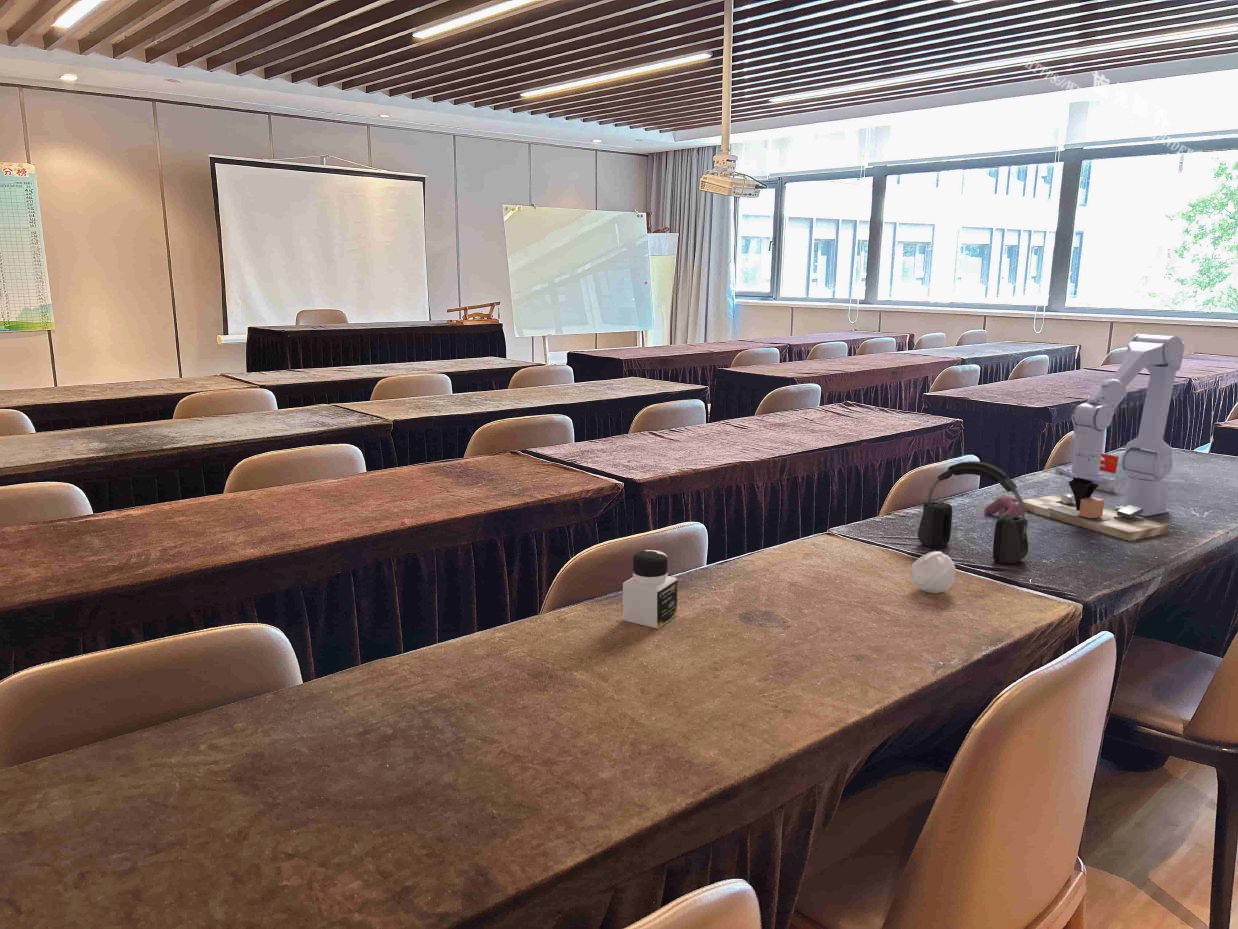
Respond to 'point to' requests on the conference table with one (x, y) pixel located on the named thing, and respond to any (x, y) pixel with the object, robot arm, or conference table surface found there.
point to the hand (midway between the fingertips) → (1080, 510)
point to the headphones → (1007, 529)
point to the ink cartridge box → (1108, 469)
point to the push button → (1068, 499)
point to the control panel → (1096, 519)
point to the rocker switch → (1129, 511)
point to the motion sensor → (933, 572)
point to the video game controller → (1004, 506)
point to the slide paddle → (1091, 507)
